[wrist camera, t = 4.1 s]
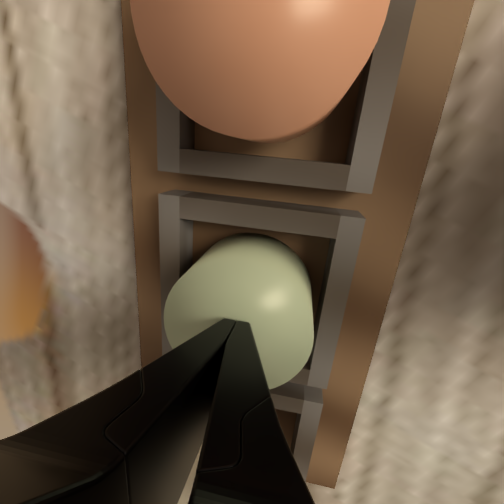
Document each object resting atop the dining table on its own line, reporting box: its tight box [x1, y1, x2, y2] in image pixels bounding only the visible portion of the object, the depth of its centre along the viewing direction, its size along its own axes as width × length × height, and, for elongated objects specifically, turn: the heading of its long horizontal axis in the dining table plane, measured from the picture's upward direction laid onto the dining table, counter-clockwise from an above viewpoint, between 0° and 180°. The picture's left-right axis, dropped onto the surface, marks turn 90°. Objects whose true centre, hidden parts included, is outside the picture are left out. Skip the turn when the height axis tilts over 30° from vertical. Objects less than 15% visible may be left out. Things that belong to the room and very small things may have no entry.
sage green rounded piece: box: [164, 233, 314, 389], centre depth 10 cm, size 5×5×3 cm
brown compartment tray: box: [121, 0, 474, 488], centre depth 12 cm, size 23×11×3 cm, turn 175°
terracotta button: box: [130, 0, 390, 143], centre depth 7 cm, size 5×5×3 cm
